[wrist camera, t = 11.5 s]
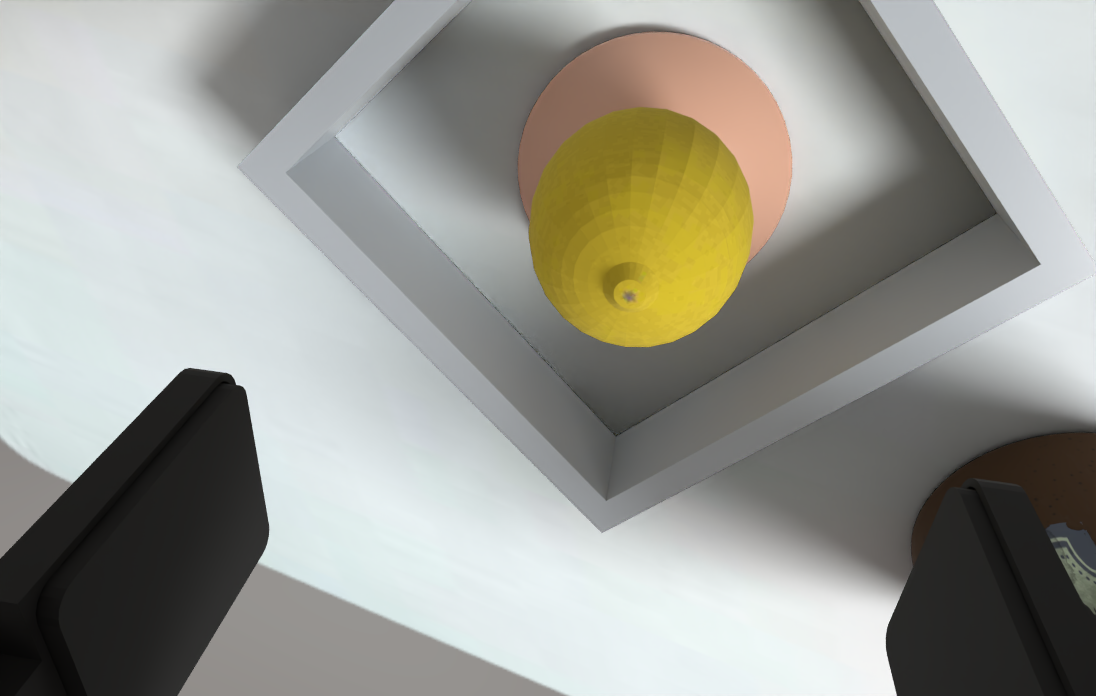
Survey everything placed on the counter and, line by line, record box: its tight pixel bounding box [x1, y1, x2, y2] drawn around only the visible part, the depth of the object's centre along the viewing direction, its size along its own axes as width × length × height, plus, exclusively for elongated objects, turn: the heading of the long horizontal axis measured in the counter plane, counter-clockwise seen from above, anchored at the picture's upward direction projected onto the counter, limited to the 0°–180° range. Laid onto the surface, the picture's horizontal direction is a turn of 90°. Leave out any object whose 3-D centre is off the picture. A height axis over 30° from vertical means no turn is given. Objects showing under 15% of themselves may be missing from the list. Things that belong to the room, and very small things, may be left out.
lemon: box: [529, 107, 754, 347], centre depth 20 cm, size 6×6×8 cm
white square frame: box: [237, 0, 1096, 533], centre depth 23 cm, size 16×16×4 cm
